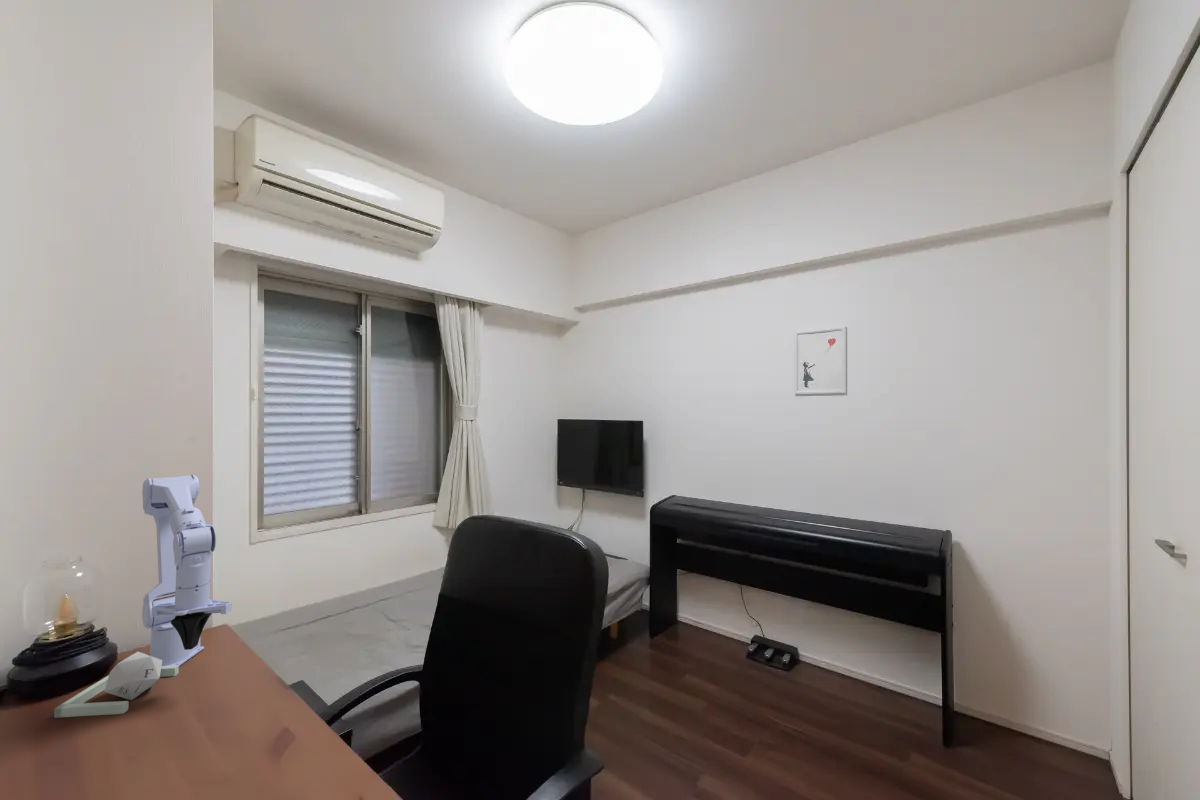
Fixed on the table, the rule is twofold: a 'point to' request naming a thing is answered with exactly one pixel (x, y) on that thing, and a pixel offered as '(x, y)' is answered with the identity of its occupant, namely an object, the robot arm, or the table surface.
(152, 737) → the table surface
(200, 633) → the robot arm
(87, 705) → the bay
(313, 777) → the table surface
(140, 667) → the die
